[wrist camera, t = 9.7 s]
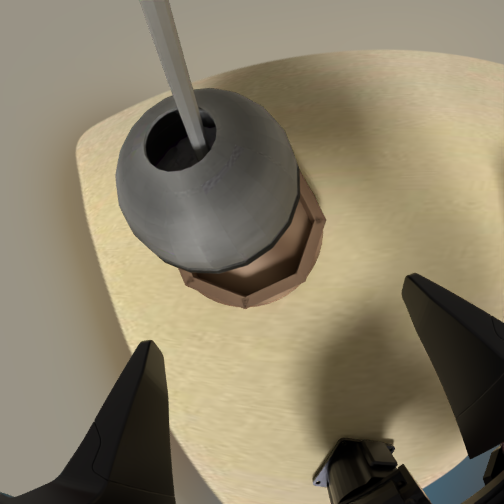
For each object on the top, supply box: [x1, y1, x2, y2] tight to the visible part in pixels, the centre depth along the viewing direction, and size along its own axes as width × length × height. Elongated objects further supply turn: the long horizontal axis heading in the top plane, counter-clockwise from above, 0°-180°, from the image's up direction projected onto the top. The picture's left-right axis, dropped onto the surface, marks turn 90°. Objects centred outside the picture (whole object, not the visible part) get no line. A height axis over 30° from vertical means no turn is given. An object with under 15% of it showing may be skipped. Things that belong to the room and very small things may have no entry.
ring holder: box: [178, 171, 326, 309], centre depth 22 cm, size 13×13×2 cm
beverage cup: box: [116, 0, 300, 274], centre depth 12 cm, size 7×7×20 cm
